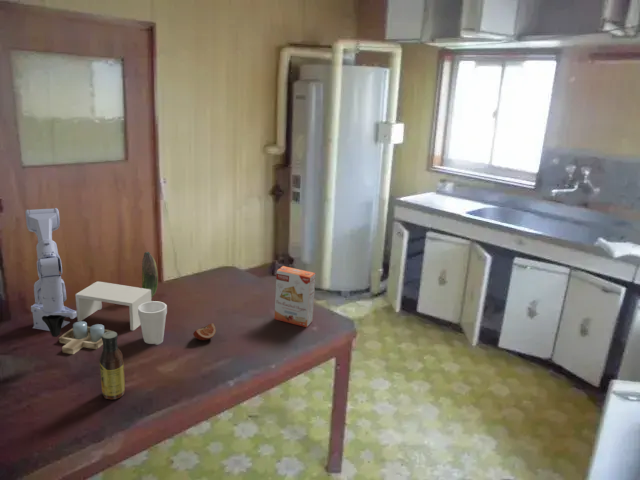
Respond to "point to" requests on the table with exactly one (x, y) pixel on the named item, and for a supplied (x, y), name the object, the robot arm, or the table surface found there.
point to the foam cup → (152, 321)
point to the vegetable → (149, 273)
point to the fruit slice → (205, 332)
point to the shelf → (111, 299)
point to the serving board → (78, 342)
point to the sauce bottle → (111, 367)
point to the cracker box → (294, 296)
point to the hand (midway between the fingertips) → (56, 335)
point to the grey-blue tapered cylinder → (96, 332)
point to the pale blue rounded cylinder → (80, 330)
